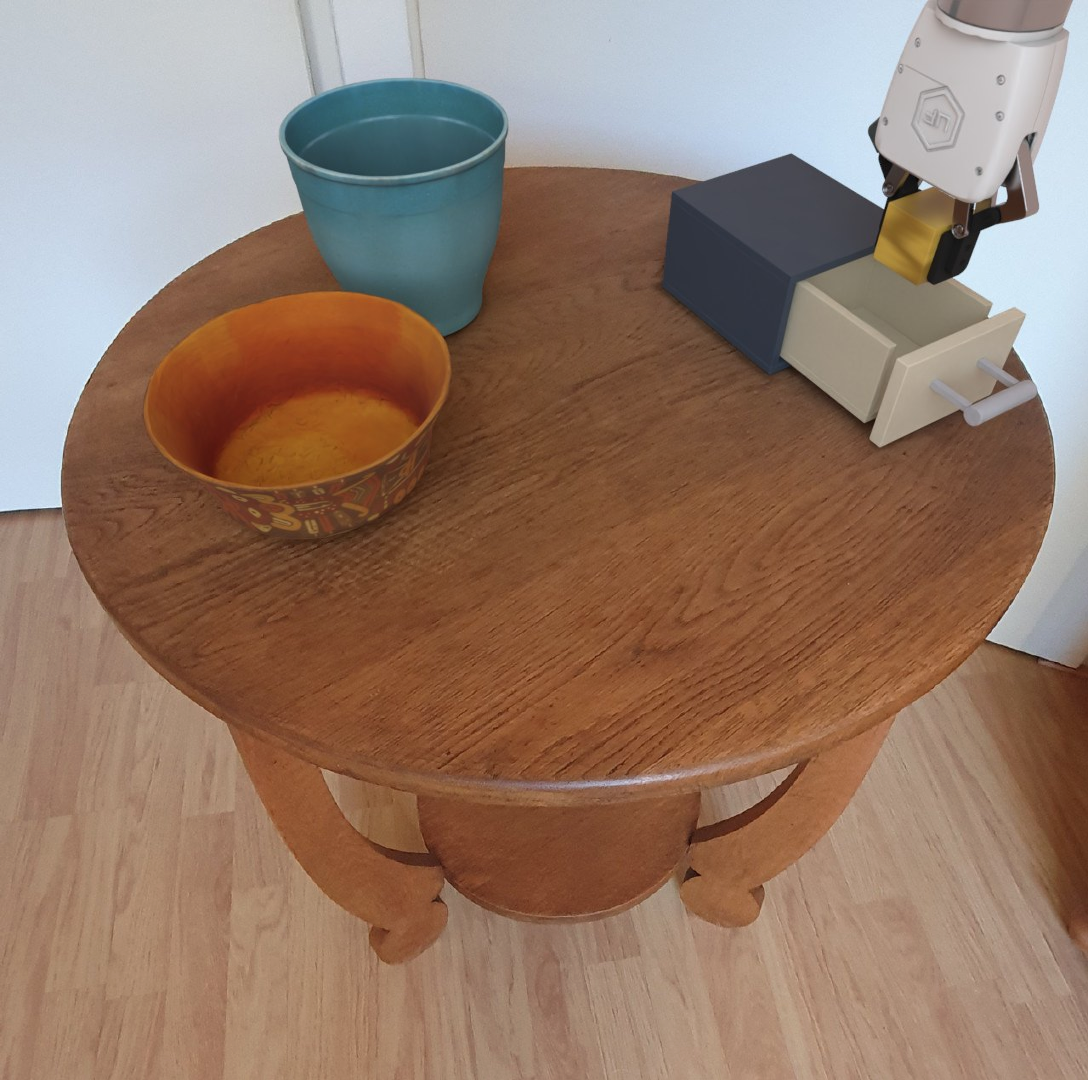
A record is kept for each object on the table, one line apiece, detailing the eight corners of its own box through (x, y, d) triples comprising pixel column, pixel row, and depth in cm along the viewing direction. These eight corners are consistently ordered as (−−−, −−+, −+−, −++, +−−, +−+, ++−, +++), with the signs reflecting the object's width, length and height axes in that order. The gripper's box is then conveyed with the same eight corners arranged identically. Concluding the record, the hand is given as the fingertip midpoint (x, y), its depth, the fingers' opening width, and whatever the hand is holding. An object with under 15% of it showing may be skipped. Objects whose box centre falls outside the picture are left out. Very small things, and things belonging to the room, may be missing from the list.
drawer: (1040, 429, 74) (1082, 348, 68) (927, 487, 70) (962, 405, 64) (864, 307, 85) (888, 228, 80) (758, 350, 81) (774, 270, 75)
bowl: (161, 599, 64) (111, 496, 57) (202, 399, 78) (166, 295, 71) (469, 574, 66) (459, 470, 58) (455, 381, 80) (445, 278, 72)
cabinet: (886, 326, 85) (917, 229, 78) (769, 375, 80) (791, 276, 73) (772, 246, 94) (791, 153, 87) (661, 286, 89) (671, 191, 82)
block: (960, 269, 70) (981, 213, 67) (916, 286, 69) (935, 230, 65) (915, 241, 73) (933, 186, 69) (872, 257, 71) (888, 202, 68)
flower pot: (304, 270, 91) (265, 91, 78) (484, 240, 95) (474, 63, 82) (335, 383, 80) (294, 194, 67) (538, 343, 83) (537, 157, 70)
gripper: (860, -37, 60) (802, 224, 74) (1082, 54, 51) (969, 335, 64) (943, -57, 63) (873, 199, 77) (1170, 26, 53) (1043, 302, 67)
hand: (917, 258), depth 70 cm, fingers closed on block, 4 cm apart
